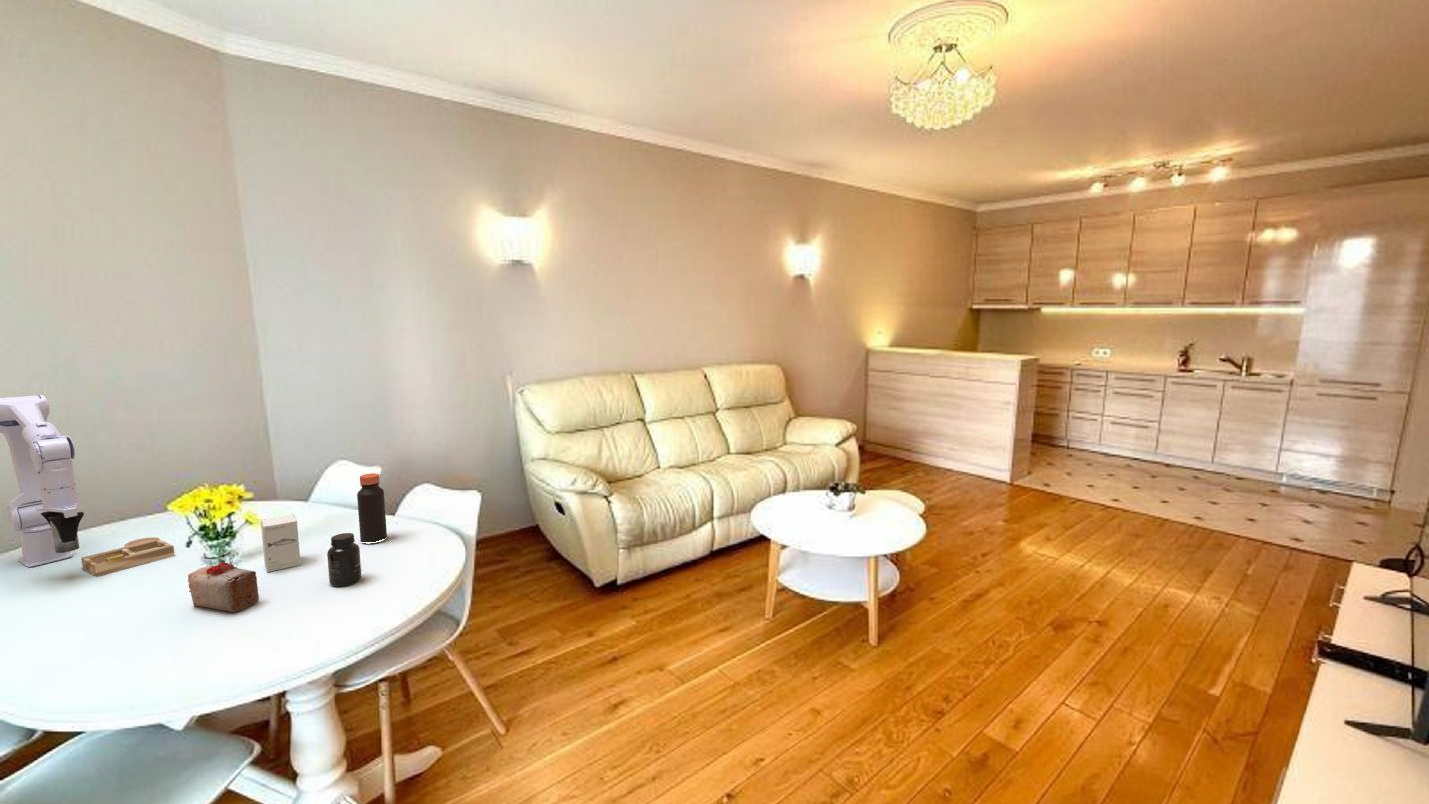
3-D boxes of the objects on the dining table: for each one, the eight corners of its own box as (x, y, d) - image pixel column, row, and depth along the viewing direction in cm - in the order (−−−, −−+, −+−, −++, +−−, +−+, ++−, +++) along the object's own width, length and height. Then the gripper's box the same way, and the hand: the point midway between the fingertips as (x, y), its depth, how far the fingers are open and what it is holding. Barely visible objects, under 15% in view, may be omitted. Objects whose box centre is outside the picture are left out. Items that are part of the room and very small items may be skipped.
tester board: (82, 567, 147) (80, 554, 146) (159, 548, 160) (157, 535, 159) (96, 576, 142) (94, 563, 142) (174, 555, 155) (173, 543, 155)
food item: (184, 608, 128) (179, 567, 127) (221, 592, 136) (217, 553, 135) (230, 616, 125) (226, 574, 124) (266, 599, 133) (262, 560, 132)
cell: (53, 550, 140) (47, 517, 139) (76, 545, 143) (71, 512, 142) (58, 554, 138) (52, 520, 137) (81, 548, 142) (76, 515, 140)
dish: (121, 550, 158) (120, 543, 157) (154, 542, 164) (153, 535, 164) (130, 555, 154) (129, 548, 154) (164, 547, 161) (163, 540, 160)
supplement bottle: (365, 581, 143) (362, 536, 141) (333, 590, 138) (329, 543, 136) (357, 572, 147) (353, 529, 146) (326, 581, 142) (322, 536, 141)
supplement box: (266, 573, 146) (261, 526, 144) (264, 563, 152) (259, 518, 150) (301, 565, 151) (297, 520, 149) (298, 556, 156) (294, 512, 155)
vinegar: (378, 545, 165) (373, 479, 162) (355, 544, 165) (350, 478, 162) (391, 536, 172) (387, 472, 169) (369, 535, 172) (365, 472, 169)
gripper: (24, 486, 138) (33, 538, 140) (42, 496, 131) (51, 551, 133) (66, 479, 145) (74, 529, 147) (86, 488, 138) (94, 541, 140)
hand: (66, 539), depth 140 cm, fingers closed on cell, 4 cm apart
